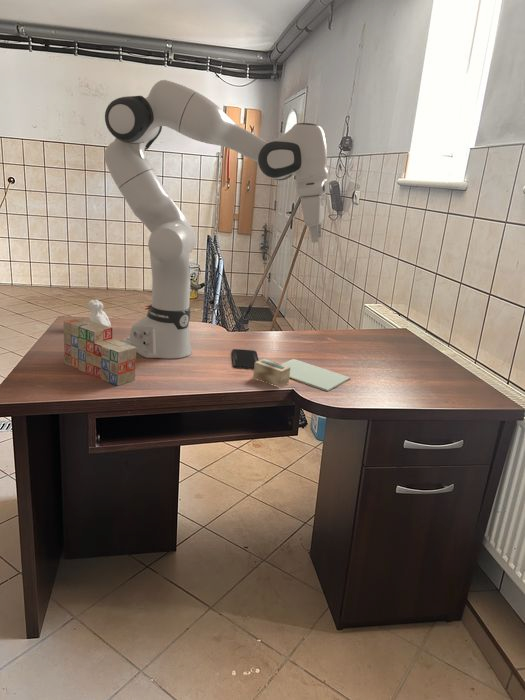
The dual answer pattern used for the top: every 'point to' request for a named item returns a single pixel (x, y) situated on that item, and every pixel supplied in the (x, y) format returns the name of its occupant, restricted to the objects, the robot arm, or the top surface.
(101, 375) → the stack of blocks
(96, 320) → the bust
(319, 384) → the rubber mat
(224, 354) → the top surface
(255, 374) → the maple block
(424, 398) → the top surface
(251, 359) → the phone
